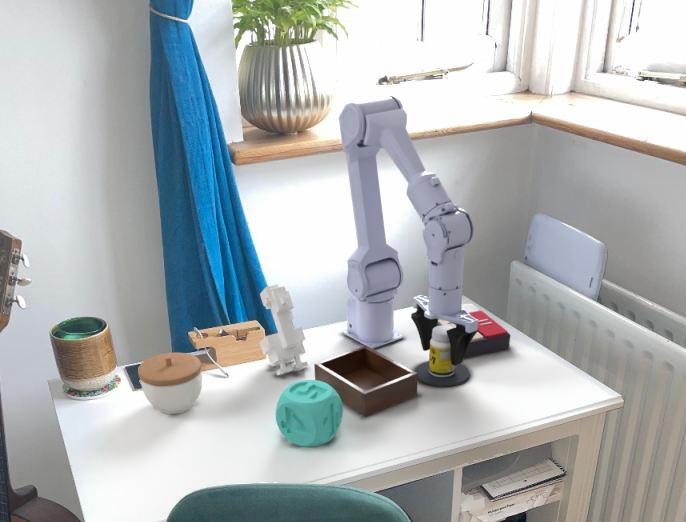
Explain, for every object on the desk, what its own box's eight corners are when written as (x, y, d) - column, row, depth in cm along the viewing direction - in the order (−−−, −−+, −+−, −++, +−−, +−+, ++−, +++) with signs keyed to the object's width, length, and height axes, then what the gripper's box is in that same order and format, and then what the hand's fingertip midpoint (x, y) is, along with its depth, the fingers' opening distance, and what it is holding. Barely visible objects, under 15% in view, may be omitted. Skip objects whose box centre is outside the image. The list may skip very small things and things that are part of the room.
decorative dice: (318, 452, 126) (316, 408, 121) (276, 439, 130) (272, 396, 125) (344, 428, 131) (342, 385, 127) (303, 417, 135) (300, 375, 131)
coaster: (402, 372, 147) (402, 370, 147) (443, 356, 152) (443, 354, 151) (439, 392, 140) (439, 390, 140) (481, 375, 145) (481, 373, 144)
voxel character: (287, 366, 140) (261, 284, 140) (268, 380, 151) (244, 305, 151) (323, 356, 142) (297, 276, 142) (302, 371, 153) (278, 297, 153)
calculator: (460, 342, 148) (423, 309, 159) (458, 362, 151) (422, 329, 162) (512, 331, 151) (472, 299, 162) (509, 351, 154) (470, 319, 165)
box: (315, 385, 144) (314, 363, 142) (365, 366, 150) (365, 345, 147) (364, 417, 134) (364, 394, 132) (417, 395, 140) (417, 373, 137)
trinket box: (217, 396, 142) (211, 348, 137) (184, 425, 134) (177, 376, 129) (167, 386, 146) (159, 339, 141) (132, 414, 138) (123, 365, 133)
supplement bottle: (426, 367, 147) (427, 325, 143) (451, 365, 148) (453, 323, 143) (431, 379, 144) (433, 336, 139) (457, 377, 144) (460, 334, 139)
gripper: (400, 278, 139) (399, 348, 147) (457, 302, 129) (453, 377, 137) (430, 268, 143) (428, 338, 150) (489, 291, 133) (483, 365, 140)
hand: (442, 356), depth 144 cm, fingers open, 7 cm apart
